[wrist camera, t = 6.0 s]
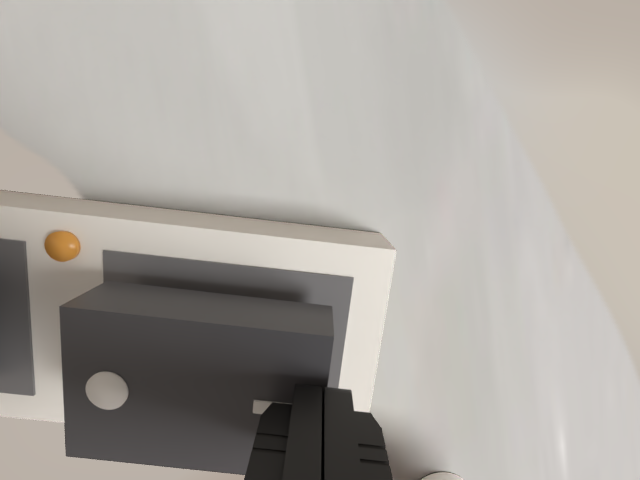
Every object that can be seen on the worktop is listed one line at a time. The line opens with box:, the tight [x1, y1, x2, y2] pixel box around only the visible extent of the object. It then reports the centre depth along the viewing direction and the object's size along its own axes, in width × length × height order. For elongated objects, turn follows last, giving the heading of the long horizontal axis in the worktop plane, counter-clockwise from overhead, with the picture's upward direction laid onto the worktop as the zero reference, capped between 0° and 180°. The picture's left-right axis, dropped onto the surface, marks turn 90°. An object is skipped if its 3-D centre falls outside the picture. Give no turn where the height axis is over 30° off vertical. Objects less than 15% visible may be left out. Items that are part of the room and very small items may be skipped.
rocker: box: [59, 281, 334, 475], centre depth 10 cm, size 7×4×2 cm, turn 83°
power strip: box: [0, 190, 397, 423], centre depth 14 cm, size 27×8×3 cm, turn 83°
